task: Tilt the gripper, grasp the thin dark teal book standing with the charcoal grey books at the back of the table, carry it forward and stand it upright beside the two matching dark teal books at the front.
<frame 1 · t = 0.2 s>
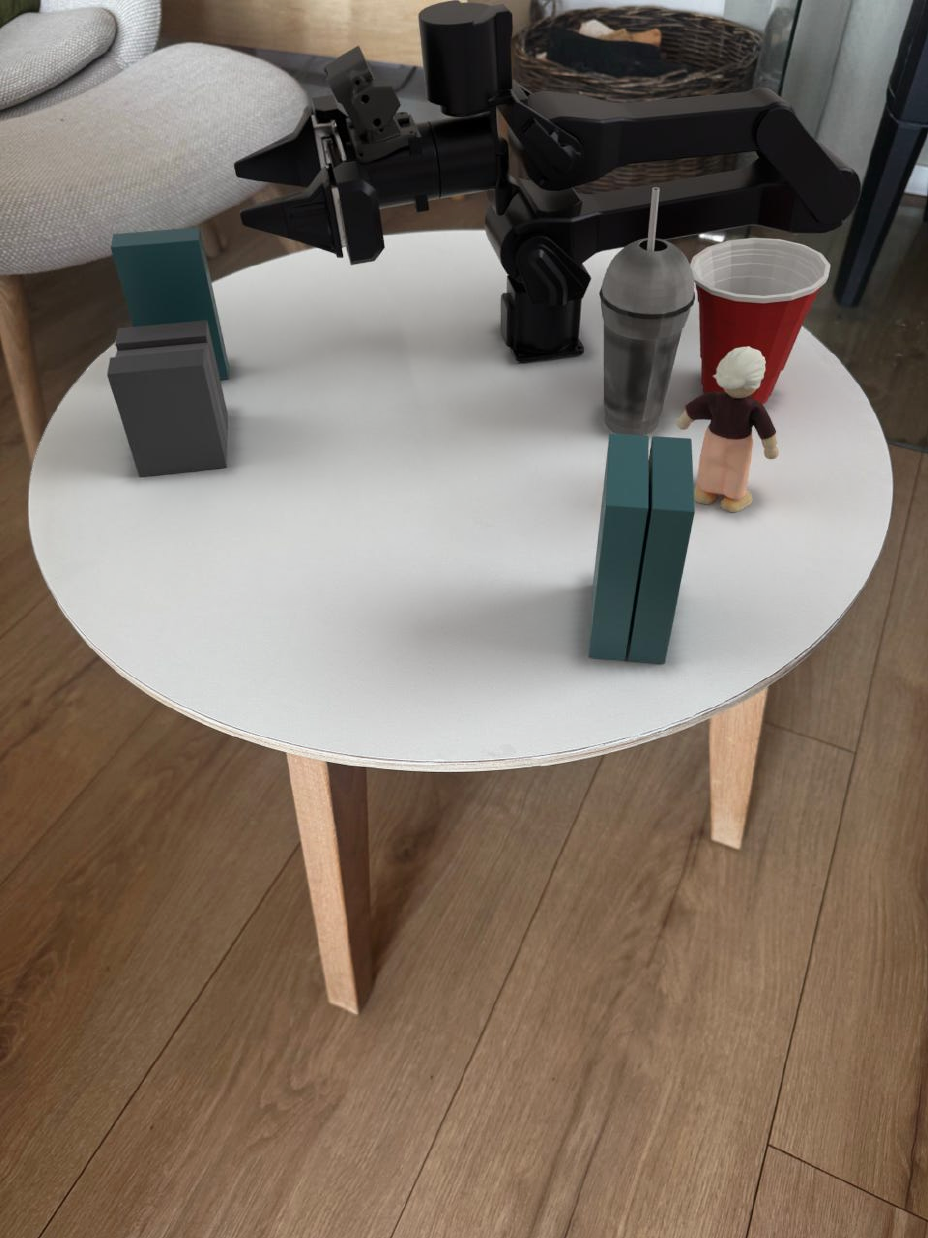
hand: (237, 192, 78), 17 cm above the table, tool horizontal, fingers open, 9 cm apart
beverage cup: (631, 422, 84), on the table
teal book: (190, 375, 90), on the table
grandmother figurine: (714, 497, 77), on the table
plastic cup: (732, 394, 87), on the table
grey books: (185, 444, 83), on the table
teal books: (627, 623, 68), on the table
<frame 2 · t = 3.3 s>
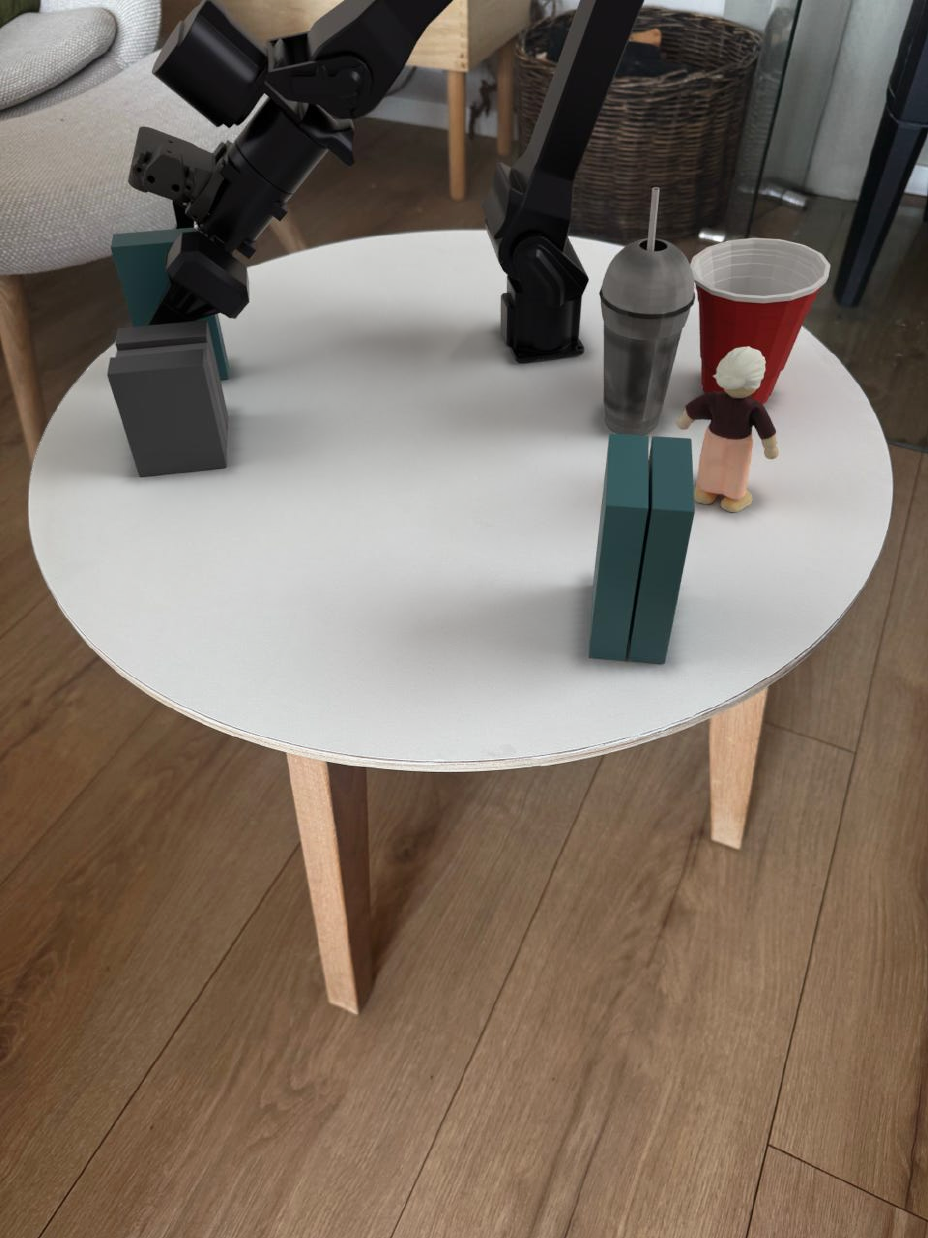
hand: (154, 306, 85), 7 cm above the table, tool tilted 45°, fingers open, 8 cm apart
nothing on the table moved.
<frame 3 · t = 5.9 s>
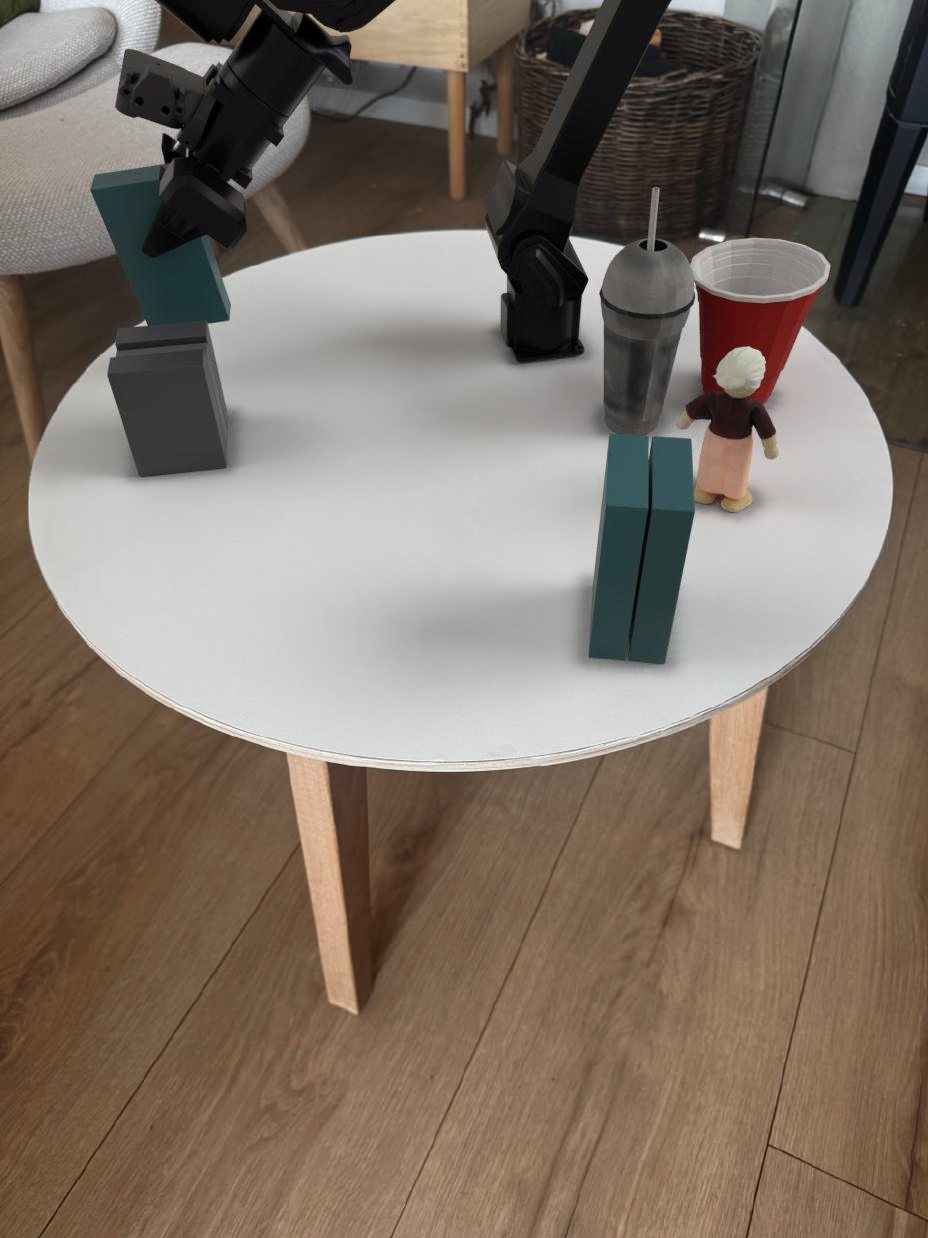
hand: (147, 246, 81), 12 cm above the table, tool tilted 45°, fingers closed on teal book, 3 cm apart
teal book: (191, 318, 87), point 5 cm above the table, tilted 8°, touching gripper
everything else where it was.
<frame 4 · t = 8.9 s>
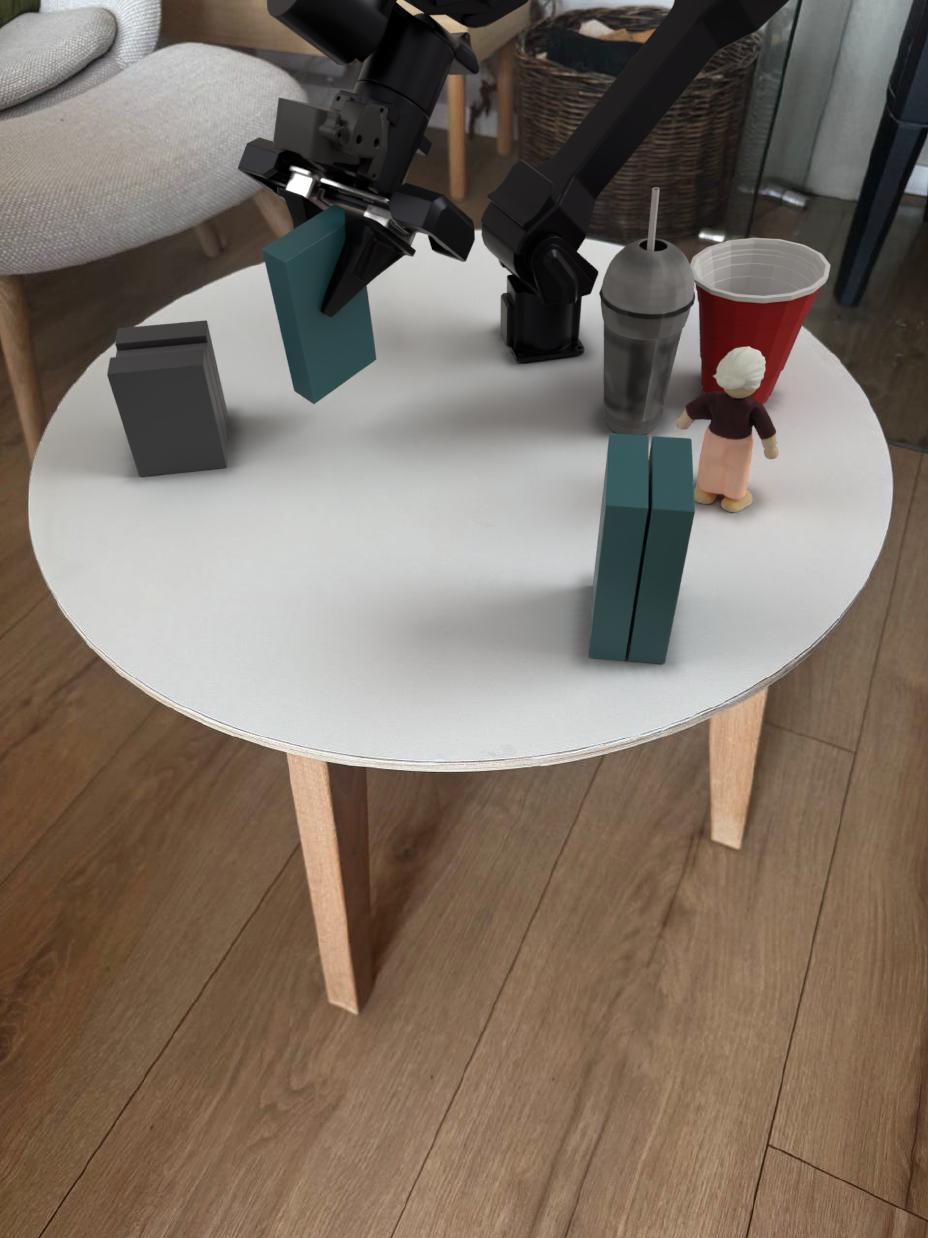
hand: (311, 309, 74), 12 cm above the table, tool tilted 45°, fingers closed on teal book, 3 cm apart
teal book: (335, 375, 80), point 5 cm above the table, tilted 9°, touching gripper
everything else where it was.
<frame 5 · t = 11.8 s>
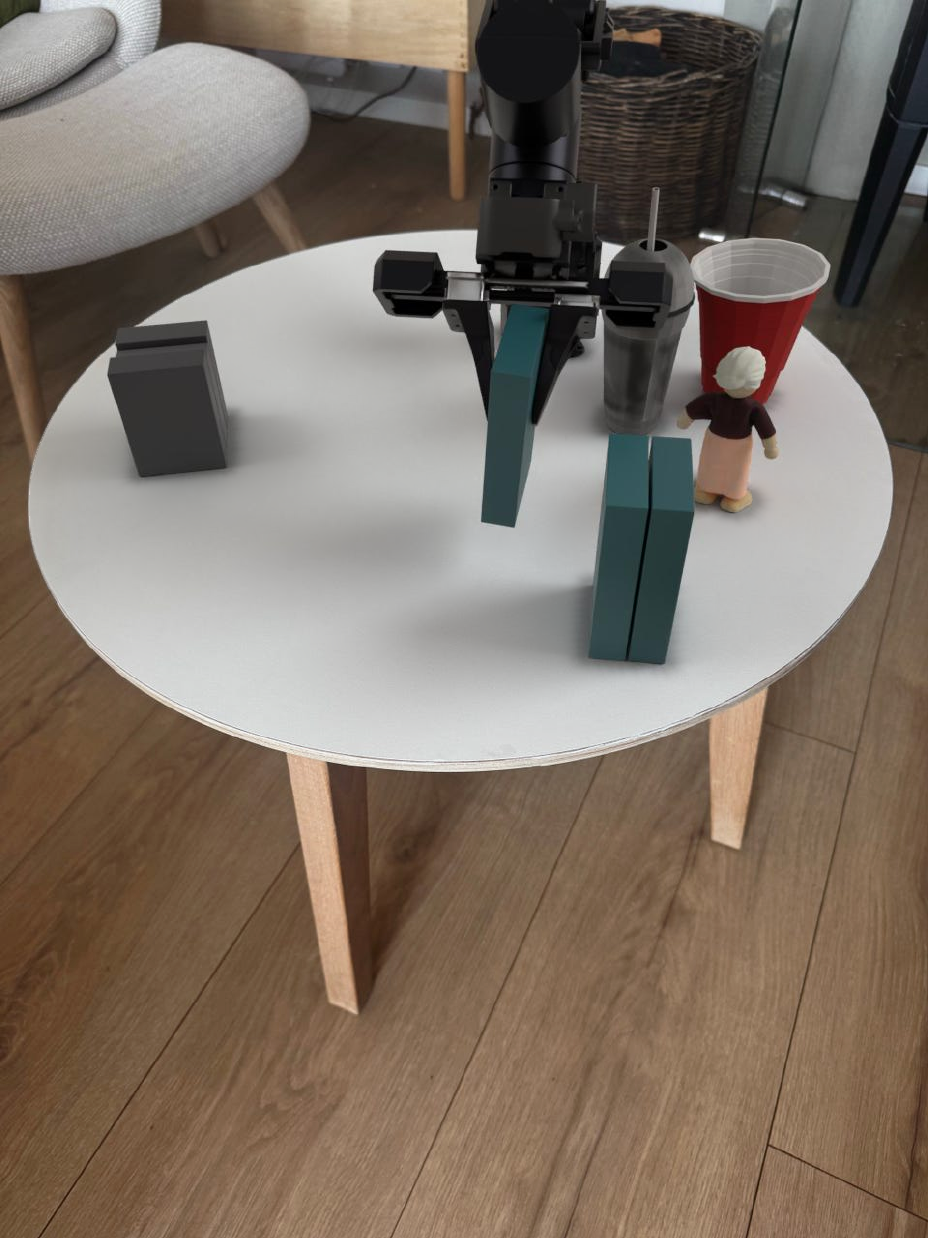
hand: (512, 423, 64), 11 cm above the table, tool tilted 45°, fingers closed on teal book, 2 cm apart
teal book: (506, 490, 71), point 4 cm above the table, tilted 7°, touching gripper
everything else where it was.
when the fingers open (7 cm above the table, at t = 14.1 s): teal book stays where it is, on the table.
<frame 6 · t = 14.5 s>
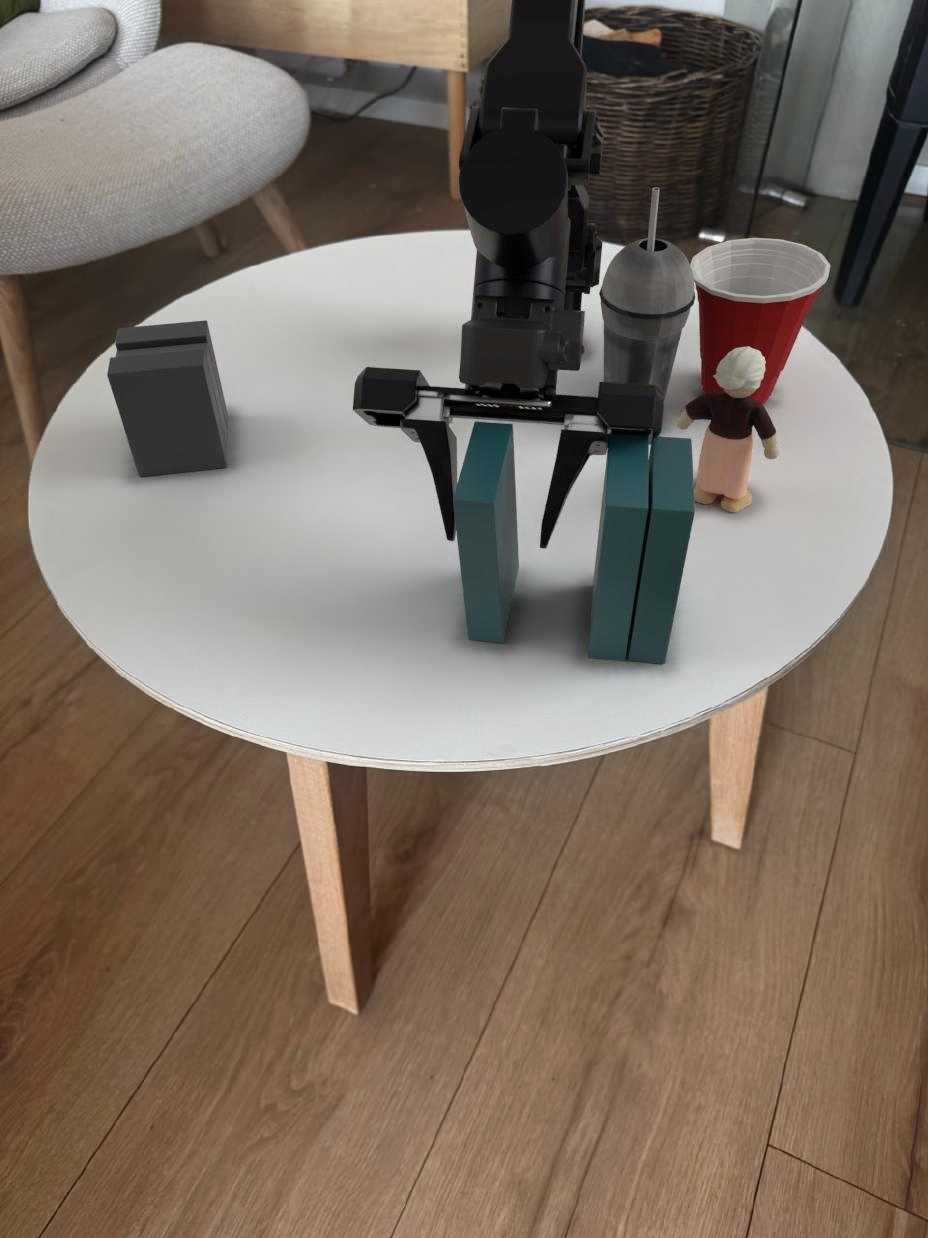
hand: (497, 544, 62), 7 cm above the table, tool tilted 45°, fingers open, 5 cm apart
teal book: (494, 602, 69), on the table, tilted 6°
everything else where it was.
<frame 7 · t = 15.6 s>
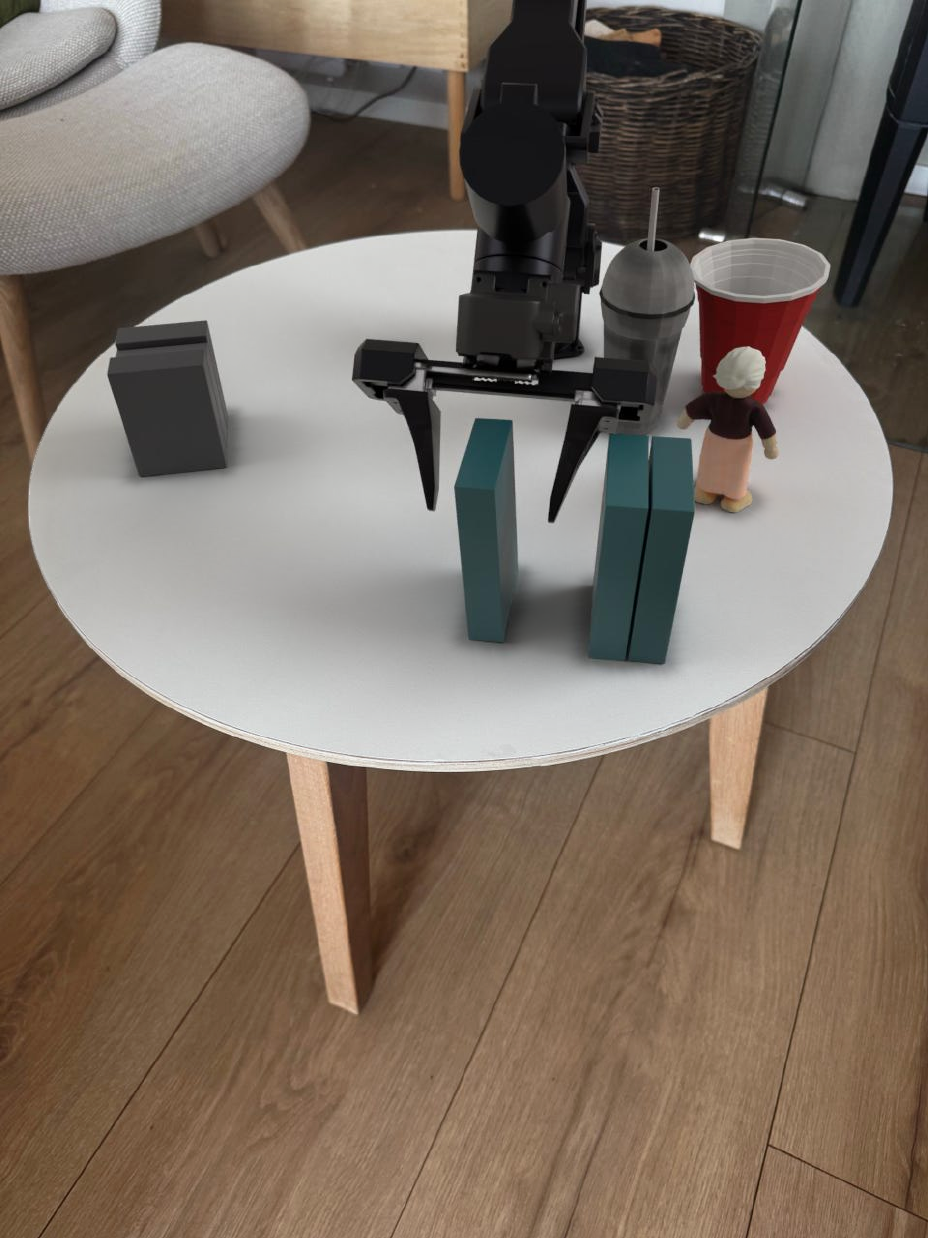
hand: (490, 516, 63), 8 cm above the table, tool tilted 45°, fingers open, 7 cm apart
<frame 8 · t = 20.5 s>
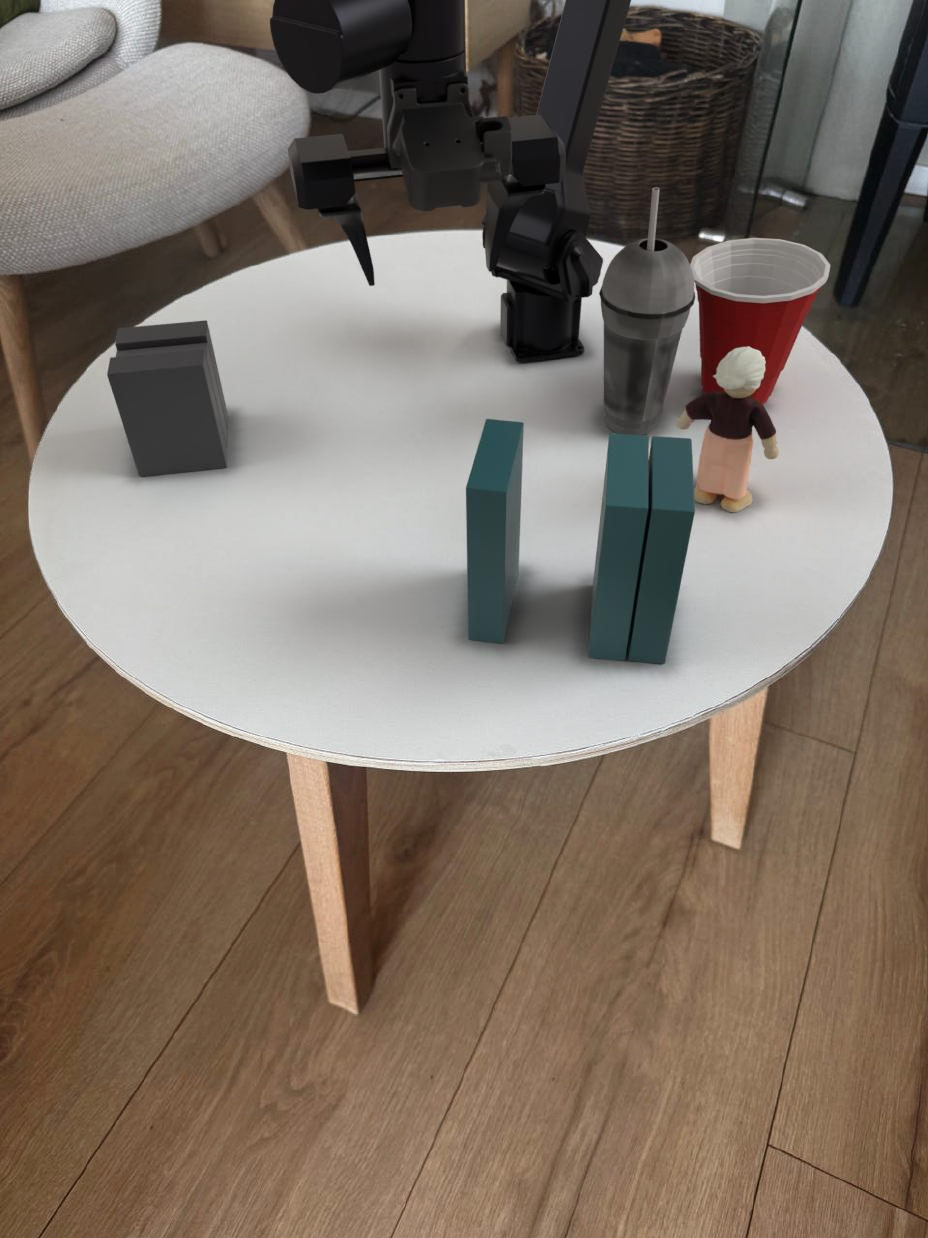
hand: (431, 276, 75), 13 cm above the table, tool pointing down, fingers open, 9 cm apart
nothing on the table moved.
at the end: teal book 0.7 cm from the target spot on the table beside the teal books, on the table; teal book tilted 0°; the gripper is holding nothing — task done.
